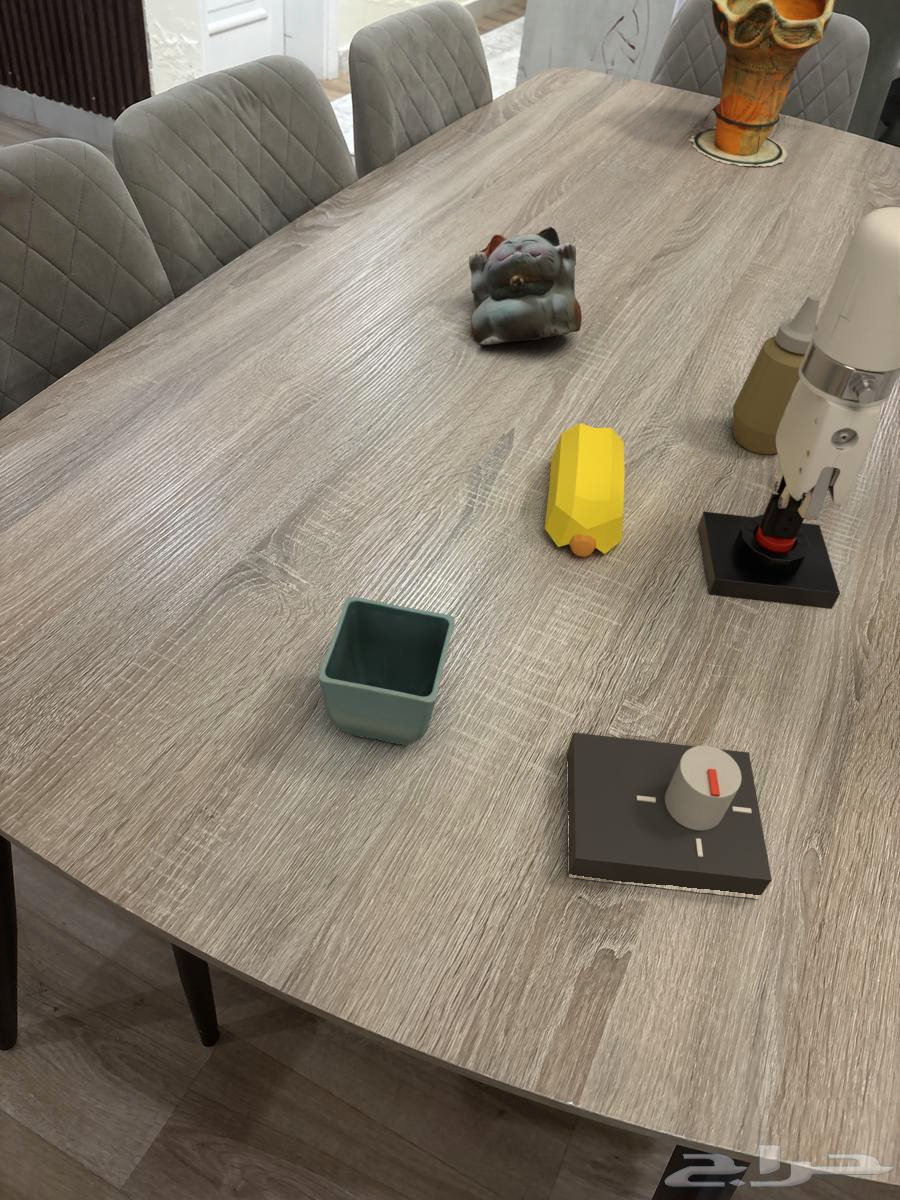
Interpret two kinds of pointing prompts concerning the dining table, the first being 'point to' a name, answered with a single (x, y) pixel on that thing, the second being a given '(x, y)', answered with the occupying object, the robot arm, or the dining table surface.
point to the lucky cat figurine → (524, 288)
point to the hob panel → (656, 820)
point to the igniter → (765, 563)
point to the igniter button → (774, 542)
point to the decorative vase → (758, 74)
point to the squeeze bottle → (773, 381)
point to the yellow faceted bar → (586, 490)
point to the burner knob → (702, 787)
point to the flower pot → (384, 669)
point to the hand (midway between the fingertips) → (776, 532)
